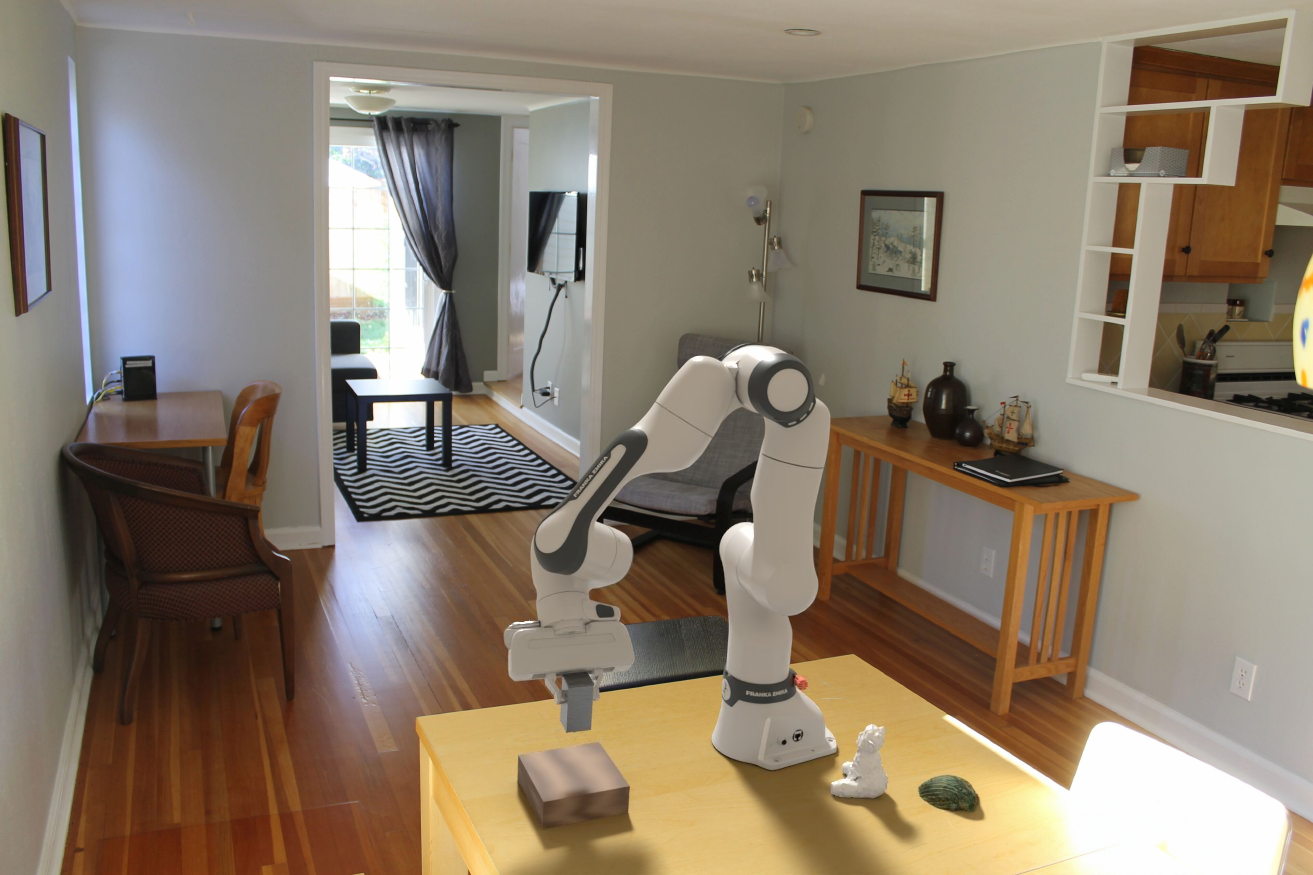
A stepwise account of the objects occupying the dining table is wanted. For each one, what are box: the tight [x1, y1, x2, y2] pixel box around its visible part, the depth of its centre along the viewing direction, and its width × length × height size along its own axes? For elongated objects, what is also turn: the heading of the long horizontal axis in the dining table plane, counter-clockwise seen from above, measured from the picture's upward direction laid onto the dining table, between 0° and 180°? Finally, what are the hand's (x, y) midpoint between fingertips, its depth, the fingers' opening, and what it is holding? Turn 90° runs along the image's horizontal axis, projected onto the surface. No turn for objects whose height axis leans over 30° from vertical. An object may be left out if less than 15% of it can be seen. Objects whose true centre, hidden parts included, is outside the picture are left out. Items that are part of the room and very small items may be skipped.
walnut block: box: [516, 741, 631, 830], centre depth 161 cm, size 14×14×5 cm
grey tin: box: [559, 672, 595, 734], centre depth 159 cm, size 4×4×8 cm
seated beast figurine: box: [830, 723, 889, 799], centre depth 167 cm, size 10×9×12 cm
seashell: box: [917, 774, 980, 813], centre depth 168 cm, size 10×4×10 cm
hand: (577, 701), depth 158 cm, fingers closed on grey tin, 4 cm apart
